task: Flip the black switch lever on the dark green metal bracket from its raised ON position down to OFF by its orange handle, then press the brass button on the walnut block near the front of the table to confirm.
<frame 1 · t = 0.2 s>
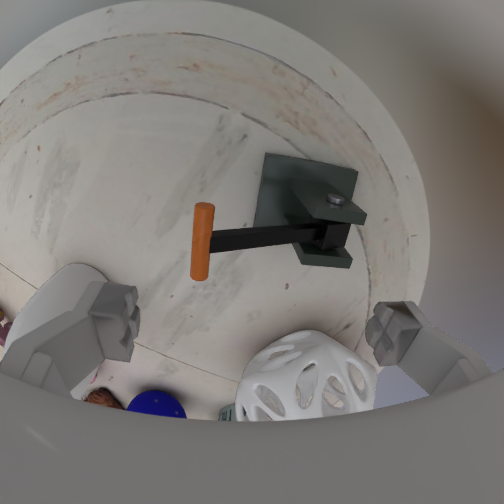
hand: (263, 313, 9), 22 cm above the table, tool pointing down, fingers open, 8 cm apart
switch lever: (278, 234, 21), point 10 cm above the table, hinge at 25.0°
switch bracket: (303, 200, 30), on the table
video game controller: (6, 317, 35), on the table
ornament: (159, 394, 45), on the table
pastry: (107, 410, 48), on the table
decorative ball: (296, 353, 42), on the table
food container: (242, 413, 50), on the table
bottle: (87, 289, 33), on the table
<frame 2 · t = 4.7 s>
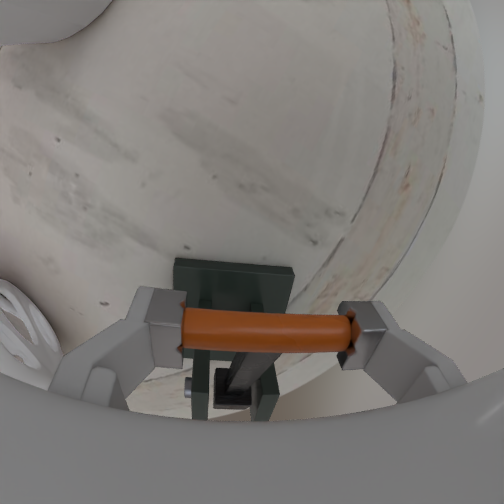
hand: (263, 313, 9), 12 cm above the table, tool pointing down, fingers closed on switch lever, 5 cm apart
switch lever: (241, 374, 13), point 10 cm above the table, hinge at 25.0°, touching gripper
switch bracket: (228, 313, 24), on the table
decorative ball: (18, 317, 23), on the table
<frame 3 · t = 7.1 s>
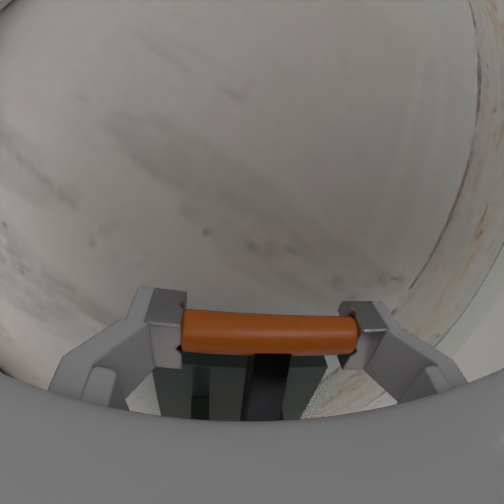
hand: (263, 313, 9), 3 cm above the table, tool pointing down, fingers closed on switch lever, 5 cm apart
switch lever: (250, 464, 9), point 6 cm above the table, hinge at -19.8°, touching gripper
switch bracket: (232, 400, 16), on the table
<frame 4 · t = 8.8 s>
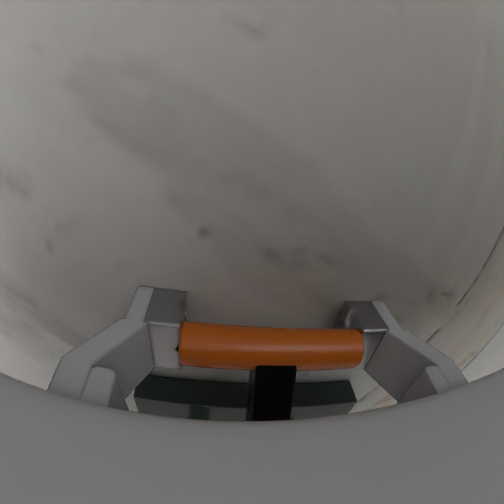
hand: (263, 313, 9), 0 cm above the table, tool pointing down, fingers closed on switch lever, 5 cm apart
switch lever: (256, 503, 7), point 5 cm above the table, hinge at -36.2°, touching gripper
switch bracket: (236, 431, 13), on the table
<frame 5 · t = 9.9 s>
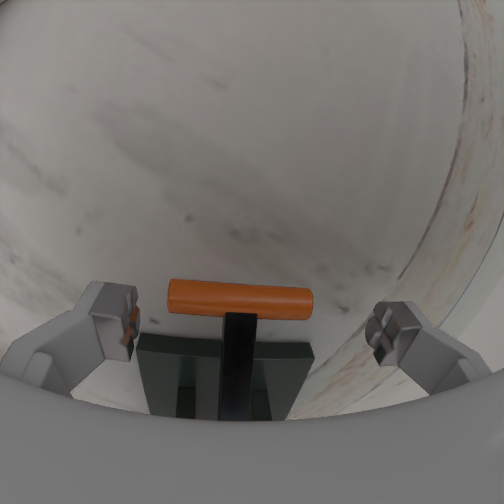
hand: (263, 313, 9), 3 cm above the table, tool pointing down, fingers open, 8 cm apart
switch lever: (231, 440, 10), point 5 cm above the table, hinge at -30.7°
switch bracket: (219, 393, 16), on the table
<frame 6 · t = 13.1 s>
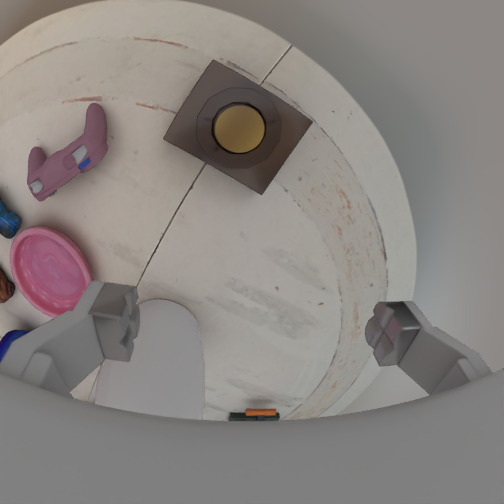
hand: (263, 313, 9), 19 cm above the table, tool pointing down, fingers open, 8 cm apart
switch lever: (257, 439, 41), point 5 cm above the table, hinge at -30.7°
switch bracket: (250, 424, 48), on the table
saucer: (58, 264, 29), on the table
video game controller: (76, 148, 23), on the table
ornament: (38, 341, 35), on the table
bottle: (164, 324, 34), on the table
button block: (237, 126, 24), on the table
confirm button: (239, 128, 20), point 4 cm above the table, slide at 0.1 cm
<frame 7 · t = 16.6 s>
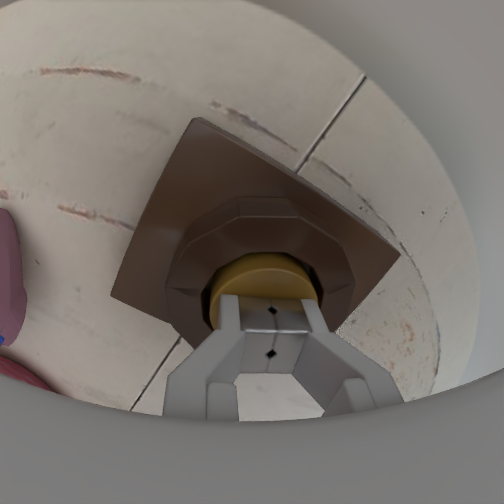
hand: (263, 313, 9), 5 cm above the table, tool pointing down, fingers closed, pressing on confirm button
saucer: (25, 386, 18), on the table
button block: (253, 251, 13), on the table
confirm button: (262, 299, 10), point 4 cm above the table, slide at -0.8 cm, touching gripper
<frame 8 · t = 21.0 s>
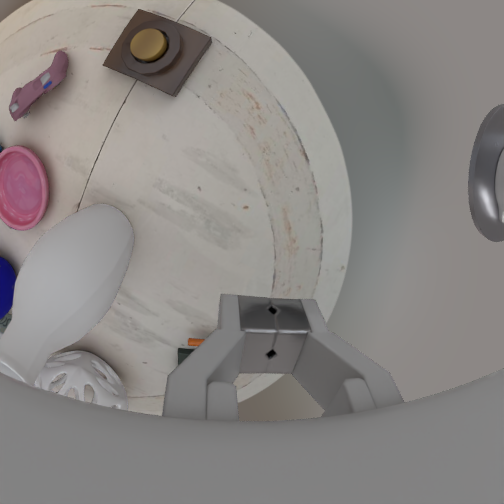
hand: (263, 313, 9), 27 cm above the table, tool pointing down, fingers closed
switch lever: (202, 376, 43), point 5 cm above the table, hinge at -30.7°
saucer: (26, 183, 30), on the table
video game controller: (47, 86, 25), on the table
ornament: (8, 269, 36), on the table
decorative ball: (91, 366, 48), on the table
food container: (15, 329, 43), on the table
bottle: (106, 232, 36), on the table
button block: (158, 52, 25), on the table
confirm button: (148, 45, 21), point 4 cm above the table, slide at 0.1 cm
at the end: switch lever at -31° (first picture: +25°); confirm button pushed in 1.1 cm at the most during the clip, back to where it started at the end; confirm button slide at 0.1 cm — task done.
